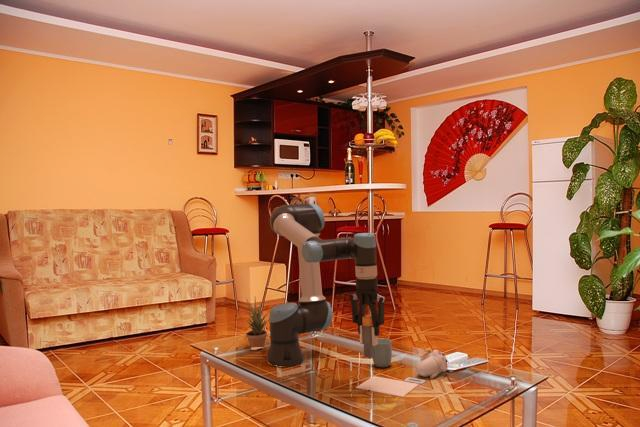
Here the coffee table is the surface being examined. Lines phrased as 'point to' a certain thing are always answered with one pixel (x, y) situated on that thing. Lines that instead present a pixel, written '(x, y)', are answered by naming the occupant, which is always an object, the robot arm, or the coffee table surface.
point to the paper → (388, 386)
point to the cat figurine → (431, 364)
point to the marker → (368, 336)
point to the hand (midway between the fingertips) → (369, 343)
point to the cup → (383, 353)
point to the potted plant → (256, 328)
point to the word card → (414, 380)
